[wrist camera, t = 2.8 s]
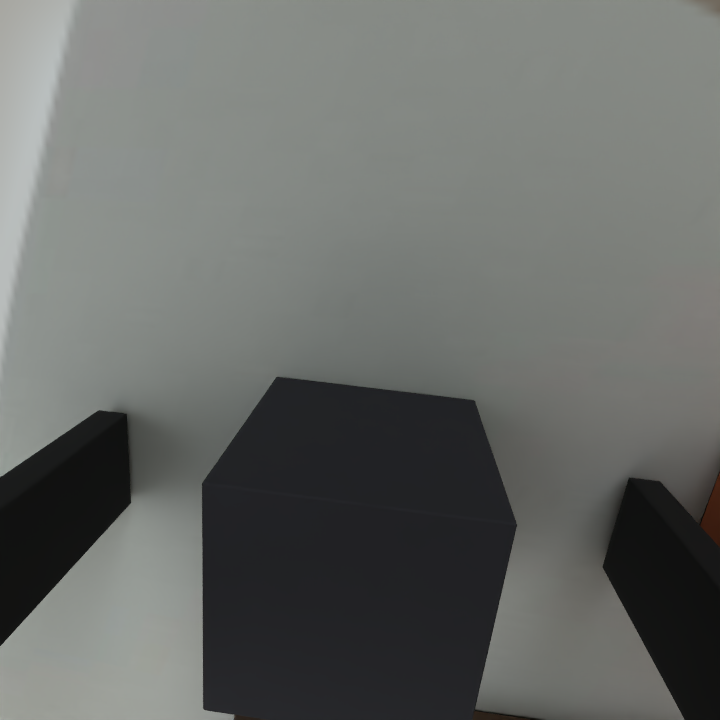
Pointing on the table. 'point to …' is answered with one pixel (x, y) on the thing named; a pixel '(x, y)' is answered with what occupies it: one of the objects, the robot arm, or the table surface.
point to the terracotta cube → (713, 514)
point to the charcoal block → (352, 557)
